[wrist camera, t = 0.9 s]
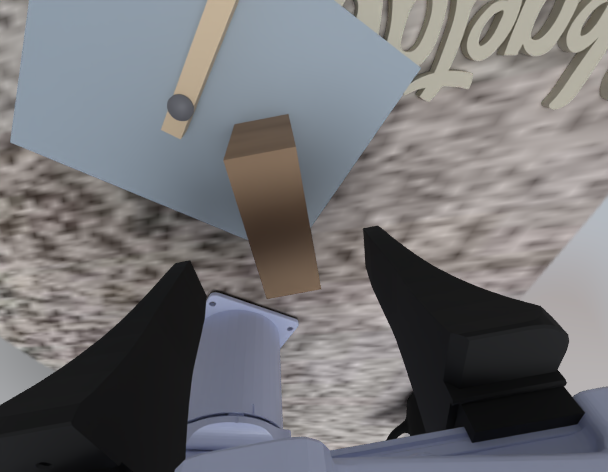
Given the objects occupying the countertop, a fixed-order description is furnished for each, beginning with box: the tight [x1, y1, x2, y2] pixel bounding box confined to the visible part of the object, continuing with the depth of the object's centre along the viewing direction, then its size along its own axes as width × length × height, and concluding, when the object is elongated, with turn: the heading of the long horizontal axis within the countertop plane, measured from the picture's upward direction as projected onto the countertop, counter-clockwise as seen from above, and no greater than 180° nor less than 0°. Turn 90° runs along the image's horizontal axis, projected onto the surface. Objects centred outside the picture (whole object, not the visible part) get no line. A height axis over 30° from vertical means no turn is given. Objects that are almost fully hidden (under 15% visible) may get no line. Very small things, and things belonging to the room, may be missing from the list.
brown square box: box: [223, 114, 321, 299], centre depth 18 cm, size 8×3×6 cm, turn 9°
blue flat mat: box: [10, 0, 421, 240], centre depth 17 cm, size 14×17×3 cm
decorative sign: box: [334, 0, 608, 110], centre depth 17 cm, size 26×1×10 cm
